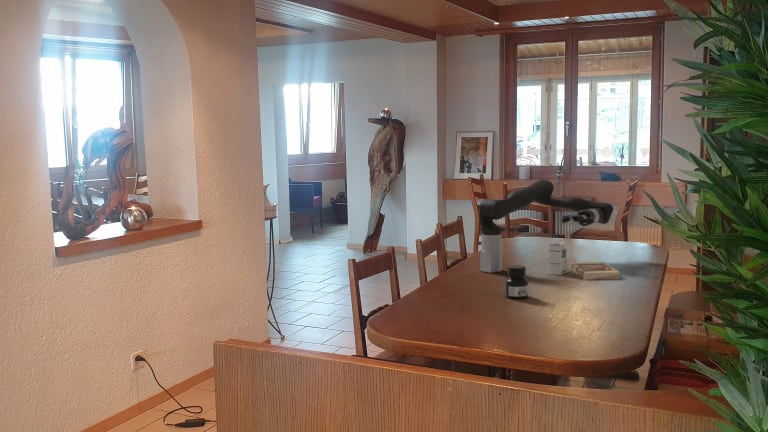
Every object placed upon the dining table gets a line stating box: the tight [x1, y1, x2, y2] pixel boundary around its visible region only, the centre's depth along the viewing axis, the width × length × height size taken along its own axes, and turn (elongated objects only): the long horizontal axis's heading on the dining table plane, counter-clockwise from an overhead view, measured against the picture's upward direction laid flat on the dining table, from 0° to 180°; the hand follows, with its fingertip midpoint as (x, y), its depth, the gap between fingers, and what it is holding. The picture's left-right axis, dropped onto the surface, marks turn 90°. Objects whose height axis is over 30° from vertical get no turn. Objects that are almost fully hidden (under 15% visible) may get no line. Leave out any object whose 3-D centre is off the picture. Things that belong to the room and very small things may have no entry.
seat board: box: [570, 261, 620, 281], centre depth 314 cm, size 22×15×3 cm
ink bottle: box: [504, 264, 529, 300], centre depth 275 cm, size 10×9×12 cm
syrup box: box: [548, 240, 567, 276], centre depth 316 cm, size 6×6×14 cm
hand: (571, 221), depth 323 cm, fingers open, 8 cm apart
